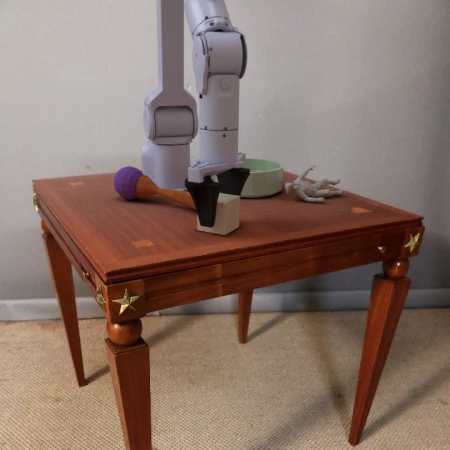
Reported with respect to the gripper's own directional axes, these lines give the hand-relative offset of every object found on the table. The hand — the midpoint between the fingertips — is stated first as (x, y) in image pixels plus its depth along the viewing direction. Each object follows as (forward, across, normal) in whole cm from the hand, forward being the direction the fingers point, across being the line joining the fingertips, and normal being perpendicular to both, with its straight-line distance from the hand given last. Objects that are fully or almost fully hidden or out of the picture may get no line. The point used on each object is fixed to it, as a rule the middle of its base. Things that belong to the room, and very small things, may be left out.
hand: (218, 219), depth 79 cm
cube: (+1, 0, 0) cm, 1 cm away
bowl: (+1, +25, +7) cm, 26 cm away
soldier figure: (+2, +26, -7) cm, 27 cm away
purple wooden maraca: (+2, +7, +16) cm, 18 cm away
